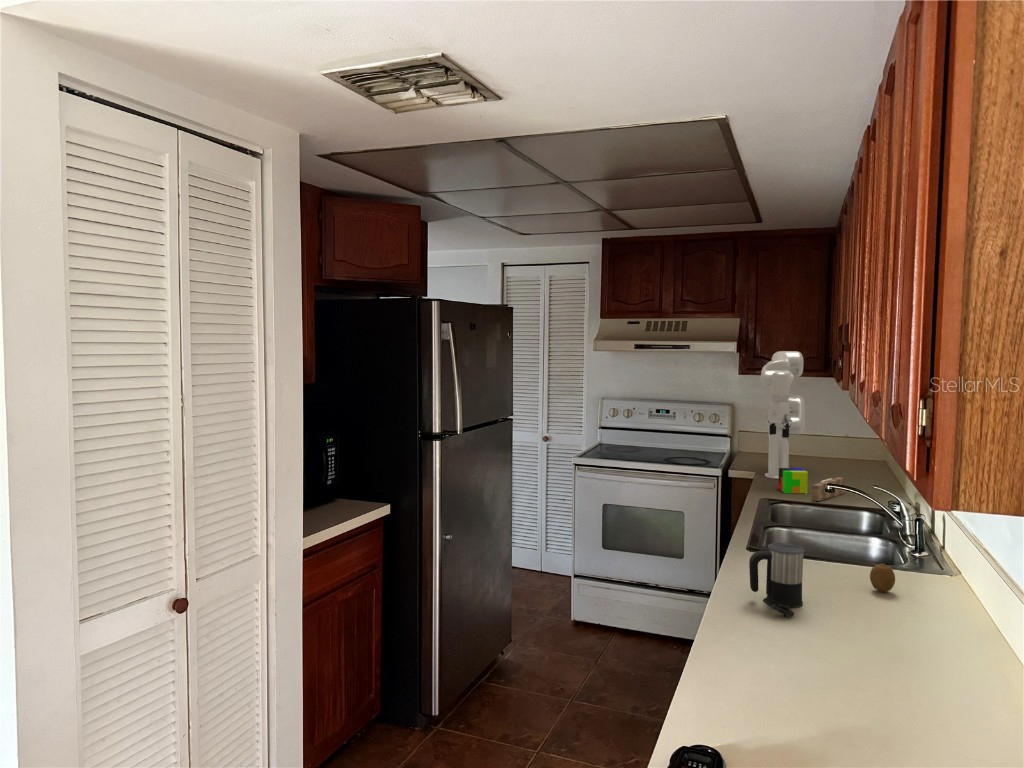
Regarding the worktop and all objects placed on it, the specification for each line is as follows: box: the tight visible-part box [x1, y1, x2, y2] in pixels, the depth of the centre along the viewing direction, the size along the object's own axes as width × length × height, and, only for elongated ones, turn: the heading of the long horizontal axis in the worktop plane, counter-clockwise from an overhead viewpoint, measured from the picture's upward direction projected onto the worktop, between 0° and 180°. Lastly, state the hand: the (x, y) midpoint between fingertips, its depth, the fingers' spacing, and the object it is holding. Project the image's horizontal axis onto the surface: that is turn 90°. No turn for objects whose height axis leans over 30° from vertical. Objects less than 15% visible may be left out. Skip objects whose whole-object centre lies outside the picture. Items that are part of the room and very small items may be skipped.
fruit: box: [869, 563, 896, 593], centre depth 197 cm, size 6×6×8 cm
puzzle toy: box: [778, 467, 809, 495], centre depth 326 cm, size 10×10×10 cm
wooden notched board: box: [811, 476, 845, 502], centre depth 314 cm, size 26×2×8 cm, turn 132°
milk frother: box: [748, 542, 806, 617], centre depth 186 cm, size 14×16×15 cm
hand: (779, 435), depth 326 cm, fingers open, 9 cm apart
